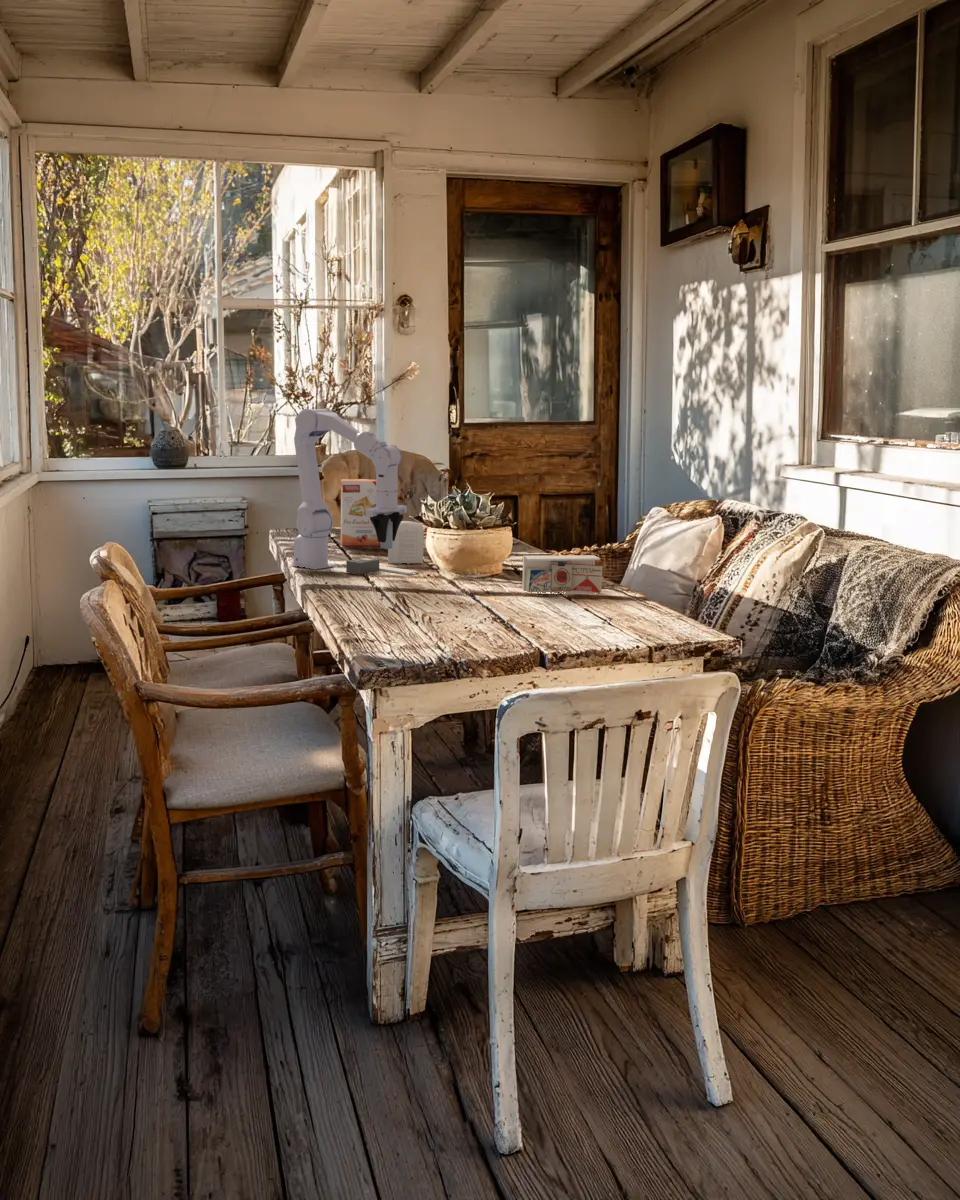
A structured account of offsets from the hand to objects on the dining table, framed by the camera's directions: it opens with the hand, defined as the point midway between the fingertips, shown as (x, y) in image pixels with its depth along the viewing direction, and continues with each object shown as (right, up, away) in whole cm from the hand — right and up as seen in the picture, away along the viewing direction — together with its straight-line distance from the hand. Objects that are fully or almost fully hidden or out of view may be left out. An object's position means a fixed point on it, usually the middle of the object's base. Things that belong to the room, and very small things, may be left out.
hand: (386, 541), depth 318 cm
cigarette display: (+46, -14, -17) cm, 52 cm away
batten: (+1, -8, +10) cm, 12 cm away
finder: (-7, -8, +7) cm, 13 cm away
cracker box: (-12, +2, +58) cm, 60 cm away
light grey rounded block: (+4, -5, +24) cm, 24 cm away
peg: (0, -2, 0) cm, 2 cm away
